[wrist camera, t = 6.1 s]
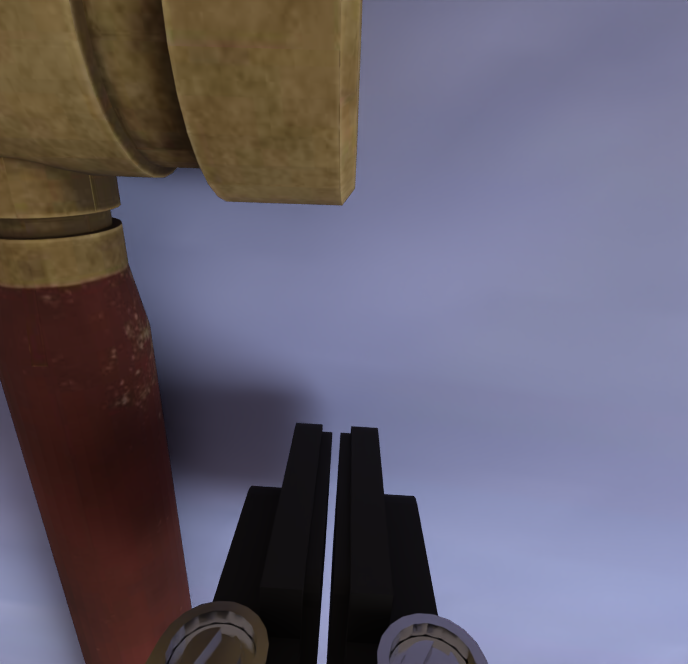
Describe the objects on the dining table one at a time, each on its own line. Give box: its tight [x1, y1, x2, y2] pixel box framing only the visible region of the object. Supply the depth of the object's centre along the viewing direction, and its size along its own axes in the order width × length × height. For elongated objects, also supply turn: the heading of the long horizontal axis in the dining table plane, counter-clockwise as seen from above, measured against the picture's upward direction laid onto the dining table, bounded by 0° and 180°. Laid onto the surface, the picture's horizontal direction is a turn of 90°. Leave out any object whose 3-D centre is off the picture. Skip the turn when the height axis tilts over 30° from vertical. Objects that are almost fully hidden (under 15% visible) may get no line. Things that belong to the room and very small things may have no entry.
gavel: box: [0, 0, 362, 664], centre depth 10 cm, size 21×5×10 cm
